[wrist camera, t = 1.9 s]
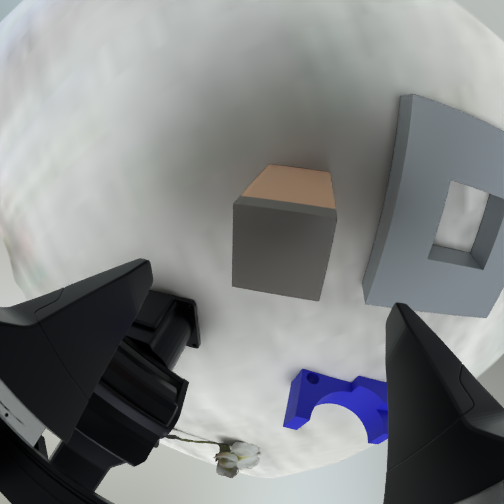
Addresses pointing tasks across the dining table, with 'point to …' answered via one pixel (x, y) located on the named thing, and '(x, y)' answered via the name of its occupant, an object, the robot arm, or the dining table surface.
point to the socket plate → (438, 214)
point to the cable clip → (339, 401)
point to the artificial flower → (230, 456)
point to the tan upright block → (284, 232)
